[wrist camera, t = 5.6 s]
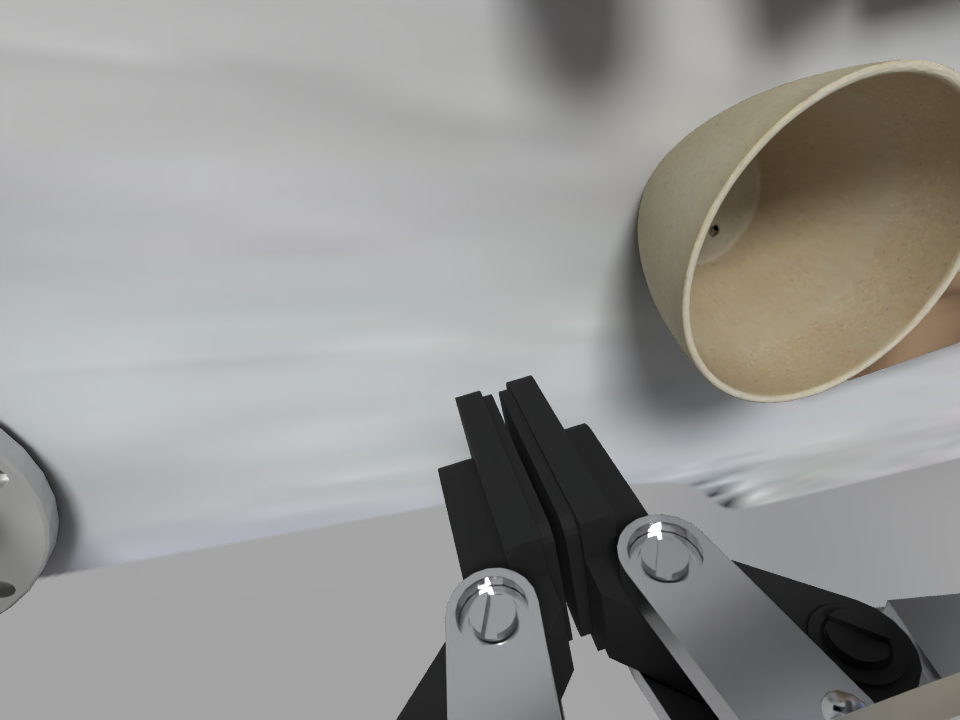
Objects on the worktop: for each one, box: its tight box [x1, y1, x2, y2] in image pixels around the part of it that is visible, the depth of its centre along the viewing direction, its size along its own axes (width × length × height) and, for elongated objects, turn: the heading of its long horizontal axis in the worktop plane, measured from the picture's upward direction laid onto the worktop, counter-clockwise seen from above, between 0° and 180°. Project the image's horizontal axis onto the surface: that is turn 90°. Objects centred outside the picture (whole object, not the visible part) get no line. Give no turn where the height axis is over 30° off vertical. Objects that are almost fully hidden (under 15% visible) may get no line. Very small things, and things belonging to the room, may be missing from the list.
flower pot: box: [638, 60, 960, 403], centre depth 18 cm, size 10×10×7 cm
